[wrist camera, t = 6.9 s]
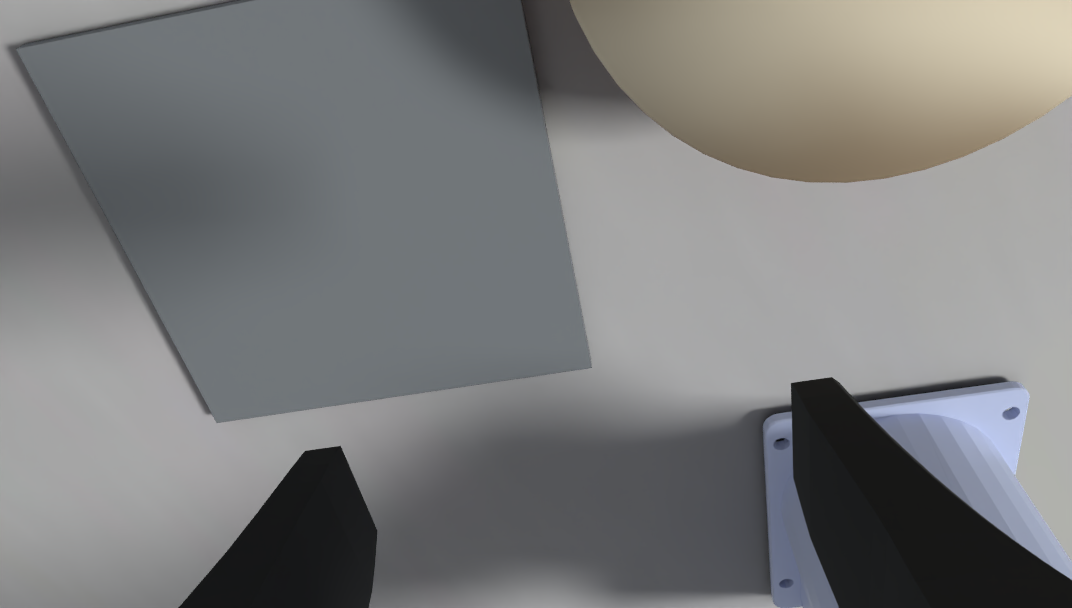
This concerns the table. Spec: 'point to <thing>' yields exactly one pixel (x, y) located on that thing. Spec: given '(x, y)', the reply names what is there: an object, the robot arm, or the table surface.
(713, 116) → the lid
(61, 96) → the mat
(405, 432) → the table surface
